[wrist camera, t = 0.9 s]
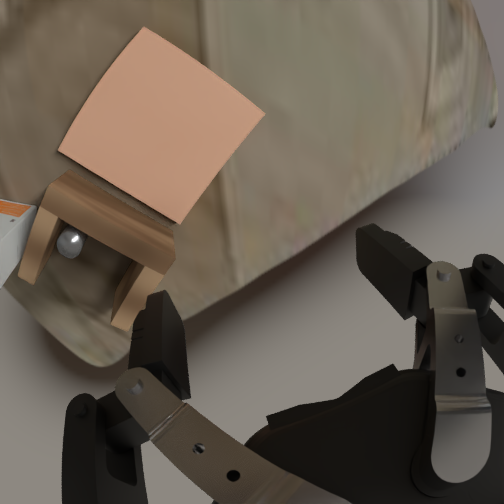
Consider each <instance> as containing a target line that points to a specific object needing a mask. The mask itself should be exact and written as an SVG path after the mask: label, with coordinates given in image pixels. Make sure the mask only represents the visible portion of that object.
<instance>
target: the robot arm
mask: <svg viewBox="0 0 504 504" xmlns="http://www.w3.org/2000/svg"><path fill="white" fill-rule="evenodd" d="M356 259H357V264H358V267H359V270H360V271H361V273H362V274H363V275H364V276H365V277H366V278H367V279H368V280H369V281H370V282H371V283H372V285H373V286H374V287H375V288H376V289H377V290H378V291H379V292H380V293H381V294H382V295H383V297H384V298H385V299H386V300H387V301H388V302H389V303H390V304H391V305H392V307H393V308H394V309H395V310H396V311H397V312H398V313H399V314H400V316H401V317H402V318H403V319H404V320H406V319H408V318H410V317H412V316H413V315H414V316H415V317H416V318H417V319H416V324H415V328H416V329H415V354H414V364H413V369H406V370H400V371H398V370H397V369H396V367H395V366H394V364H391V365H389V366H387V367H386V368H383V369H381V370H379V371H377V372H375V373H373V374H371V375H369V376H367V377H365V378H364V379H363V380H361V381H360V382H359V383H358V384H356V385H355V386H354V387H352V388H351V389H350V390H349V391H347V392H346V393H344V394H343V395H342V396H340V397H339V398H337V399H334V400H328V401H322V402H316V403H309V404H302V405H298V406H295V407H292V408H289V409H286V410H283V411H280V412H277V413H274V414H271V415H268V416H266V418H267V421H268V425H267V426H265V427H263V428H262V429H260V430H259V431H258V432H256V433H255V434H254V435H253V436H252V437H251V438H249V440H248V441H247V442H246V443H245V444H244V445H243V444H241V443H240V442H238V441H237V440H235V439H234V438H232V437H231V436H230V435H228V434H227V433H225V432H224V431H222V430H221V429H220V428H218V427H217V426H216V425H215V424H213V423H212V422H211V421H209V420H208V419H207V418H205V417H204V416H203V415H202V414H200V413H199V412H198V411H197V410H195V409H194V408H193V407H192V406H190V405H189V404H187V403H184V402H182V400H185V399H190V398H191V394H190V385H189V374H188V364H187V352H186V339H185V329H184V325H183V322H182V320H181V317H180V315H179V314H178V312H177V310H176V308H175V306H174V304H173V302H172V300H171V298H170V296H169V294H168V293H167V291H166V290H163V291H160V292H157V293H153V294H150V295H148V296H147V301H146V309H144V310H141V311H139V313H138V315H137V316H136V318H135V320H134V323H133V330H132V331H133V333H132V338H131V339H132V341H131V346H130V355H129V365H128V371H126V372H124V373H123V374H122V375H121V376H120V378H119V379H118V381H117V383H116V386H115V391H113V392H112V393H109V394H108V395H106V396H104V397H102V398H100V399H98V400H96V399H95V398H94V397H93V396H92V395H90V394H87V393H83V394H79V395H77V396H76V397H74V398H73V399H72V400H71V402H70V403H69V405H68V407H67V410H66V417H65V427H64V436H63V452H62V504H148V499H147V493H146V487H145V480H144V472H143V464H142V455H141V444H143V443H145V442H147V441H149V440H151V441H152V443H153V444H154V445H155V446H156V447H157V448H158V449H159V450H160V451H161V452H162V453H163V454H164V455H165V456H166V457H167V458H168V459H169V460H170V461H171V462H172V463H173V464H174V465H175V466H176V467H177V468H178V469H179V470H180V471H181V472H182V473H183V474H184V475H186V476H187V477H188V478H189V479H190V480H191V481H192V482H193V483H195V484H196V485H197V486H198V487H199V488H200V489H201V490H203V491H204V492H205V493H206V494H207V495H209V496H210V497H211V498H212V499H214V501H213V502H212V504H504V393H503V392H500V391H496V390H492V389H488V388H486V386H485V371H484V360H483V351H482V347H483V348H484V350H485V351H486V352H487V353H488V354H489V356H490V357H491V358H492V360H493V361H494V362H495V364H496V365H497V366H498V367H499V369H500V370H501V372H502V373H503V374H504V322H503V321H502V320H501V319H500V318H499V317H498V316H497V315H496V313H495V312H493V310H492V309H491V308H490V304H491V302H492V299H494V300H495V301H496V302H497V303H499V305H500V306H501V307H502V308H503V309H504V264H503V263H502V262H500V261H499V260H498V259H496V258H495V257H493V256H491V255H488V254H479V255H477V256H475V257H474V259H473V263H472V267H469V268H464V269H458V268H457V267H456V266H454V265H453V264H451V263H448V262H444V261H438V262H432V261H431V260H429V259H428V258H427V257H426V256H424V255H423V254H422V253H421V252H419V251H418V250H417V249H416V248H414V247H412V246H411V245H410V244H409V243H407V242H405V240H404V239H402V238H401V237H400V236H398V235H397V234H394V233H391V232H389V231H384V230H382V229H381V228H380V227H378V226H377V225H376V224H374V223H372V224H369V225H366V226H363V227H360V228H358V229H357V230H356Z"/></svg>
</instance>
